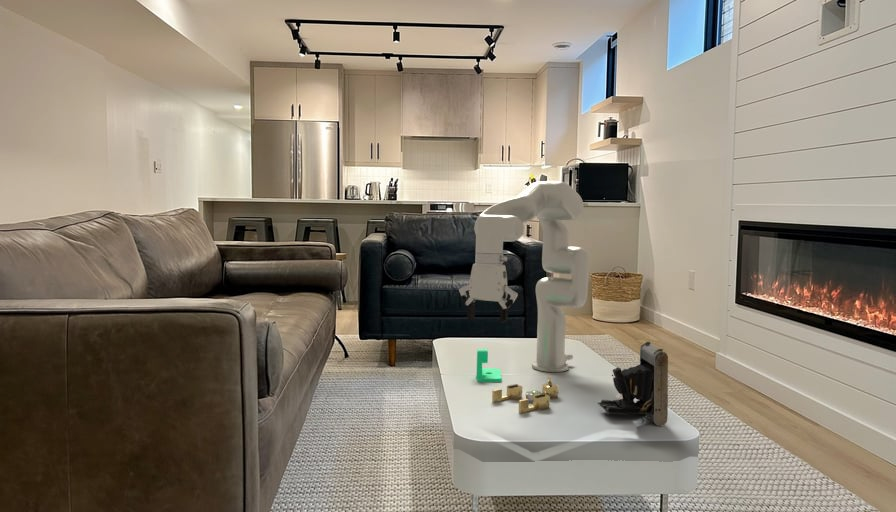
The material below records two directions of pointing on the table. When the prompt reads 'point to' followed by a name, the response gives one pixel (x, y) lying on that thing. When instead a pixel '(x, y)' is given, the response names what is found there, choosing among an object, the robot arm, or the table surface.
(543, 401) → the foot screw
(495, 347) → the table surface
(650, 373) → the vintage camera
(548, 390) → the foot screw
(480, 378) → the camera mount
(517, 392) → the foot screw
